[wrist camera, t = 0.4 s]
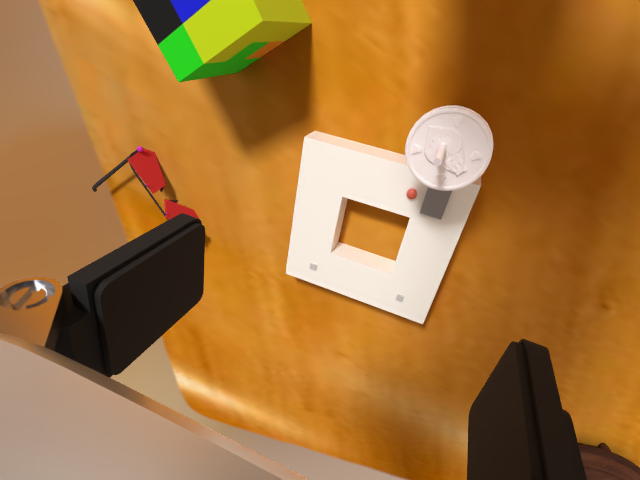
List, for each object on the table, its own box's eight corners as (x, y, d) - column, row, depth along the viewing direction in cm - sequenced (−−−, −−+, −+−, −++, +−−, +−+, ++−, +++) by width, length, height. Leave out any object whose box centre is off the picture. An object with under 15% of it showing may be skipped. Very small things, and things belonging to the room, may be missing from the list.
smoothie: (467, 74, 34) (459, 96, 22) (505, 132, 35) (516, 181, 23) (407, 119, 37) (374, 157, 26) (444, 170, 38) (427, 229, 27)
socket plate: (314, 130, 41) (302, 138, 38) (481, 175, 37) (481, 187, 34) (295, 261, 51) (283, 275, 48) (425, 309, 47) (422, 327, 44)
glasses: (212, 227, 54) (190, 243, 50) (148, 260, 63) (125, 276, 59) (153, 140, 51) (124, 149, 47) (94, 188, 59) (66, 199, 55)
